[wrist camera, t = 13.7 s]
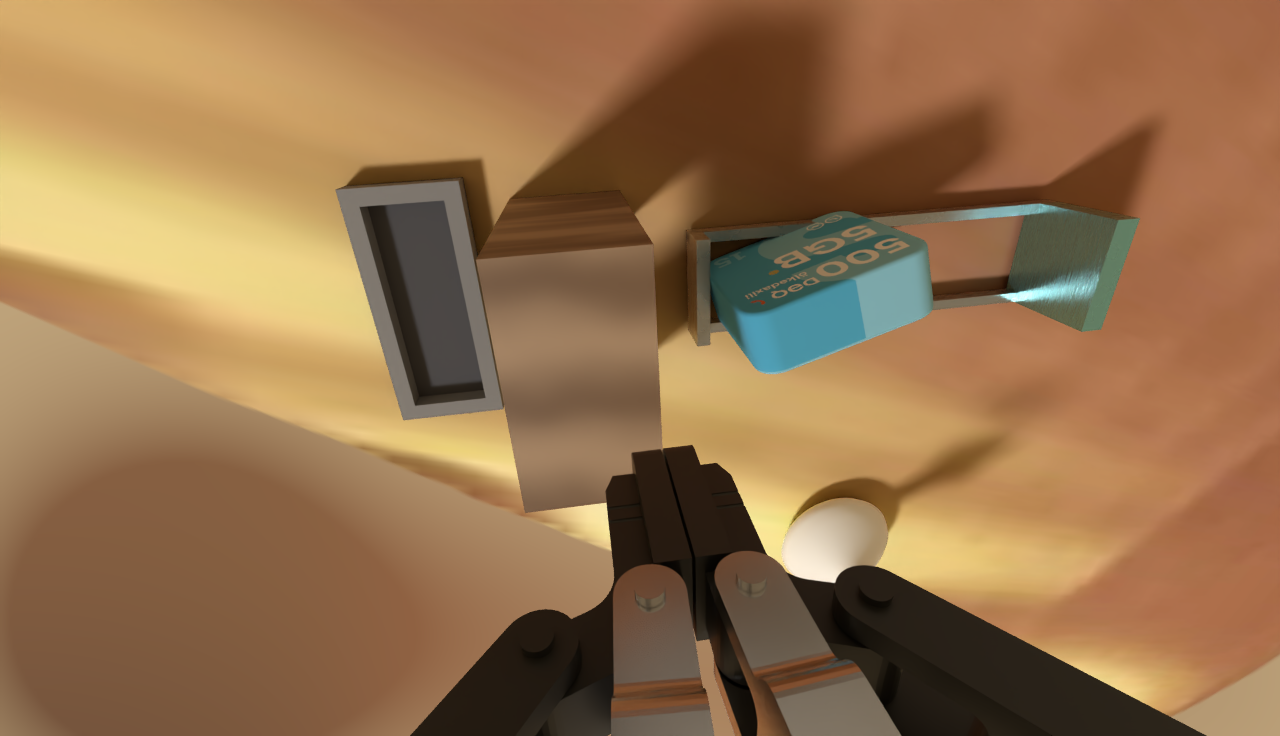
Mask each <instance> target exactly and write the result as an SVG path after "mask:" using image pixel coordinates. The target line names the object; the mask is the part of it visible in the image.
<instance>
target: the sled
mask: <svg viewBox="0 0 1280 736" xmlns="http://www.w3.org/2000/svg"><path fill="white" fill-rule="evenodd" d="M1017 215H1025V217H1024V220H1023V224H1022V228H1021V232H1020V236H1019V240H1018V244H1017V248H1016V252H1015V256H1014V259H1013V263H1012V267H1011V271H1010V275H1009V279H1008V283H1007V287H1006V289H996V290H986V291H976V292H966V293H956V294H946V295H936V296H933V304H934V305H933V309H932V310H938V309H948V308H958V307H967V306H977V305H987V304H997V303H1007V302H1016V303H1018V304H1020V305H1022V306H1025V307H1027V308H1029V309H1031V310H1034V311H1036V312H1038V313H1040V314H1043V315H1045V316H1047V317H1049V318H1052V319H1054V320H1056V321H1058V322H1061V323H1063V324H1065V325H1067V326H1070V327H1072V328H1074V329H1076V330H1079V331H1081V332H1083V331H1092V330H1101V328H1102V325H1103V322H1104V320H1105V317H1106V314H1107V311H1108V308H1109V305H1110V302H1111V300H1112V297H1113V294H1114V291H1115V288H1116V285H1117V282H1118V280H1119V277H1120V274H1121V271H1122V268H1123V265H1124V262H1125V260H1126V257H1127V254H1128V251H1129V248H1130V245H1131V242H1132V240H1133V237H1134V234H1135V231H1136V228H1137V225H1138V222H1139V220H1140V218H1136V217H1131V216H1126V215H1121V214H1117V213H1112V212H1107V211H1102V210H1097V209H1092V208H1087V207H1082V206H1077V205H1072V204H1067V203H1062V202H1057V201H1052V200H1047V199H1046V200H1034V201H1022V202H1010V203H999V204H987V205H975V206H963V207H951V208H940V209H928V210H916V211H904V212H893V213H881V214H869V215H860V216H863V217H866V218H868V219H871V220H873V221H876V222H879V223H881V224H884V225H886V226H889V227H891V226H903V225H914V224H926V223H937V222H949V221H960V220H972V219H983V218H994V217H1006V216H1017ZM811 220H813V219H810V220H798V221H786V222H775V223H763V224H751V225H739V226H727V227H716V228H704V229H692V230H686V238H687V288H688V330H689V332H690V334H691V335H692V337H693V339H694V341H695V343H696V345H697V346H706V345H710V333H713V332H723V331H727V330H726V328H725V327H724V325H723V324H722V323H721V321H720V320H719V318H718V317H715V318H710V242H719V241H731V240H742V239H754V238H765V237H777V236H783V235H786V234H788V233H791V232H793V231H796V230H798V229H801V228H803V227H806V226H808V225H811V224H813V223H816V222H813V221H811Z"/></svg>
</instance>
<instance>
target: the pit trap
mask: <svg viewBox="0 0 1280 736" xmlns="http://www.w3.org/2000/svg"><path fill="white" fill-rule="evenodd" d="M336 193H337V197H338V200H339V204H340V207H341V210H342V214H343V217H344V220H345V224H346V227H347V231H348V234H349V237H350V241H351V244H352V248H353V251H354V254H355V258H356V261H357V265H358V268H359V271H360V275H361V278H362V282H363V285H364V288H365V292H366V295H367V299H368V302H369V305H370V309H371V312H372V315H373V319H374V322H375V326H376V329H377V332H378V336H379V339H380V343H381V346H382V349H383V353H384V356H385V360H386V363H387V366H388V370H389V373H390V377H391V380H392V383H393V387H394V390H395V394H396V397H397V400H398V404H399V407H400V410H401V414H402V417H403V420H410V419H419V418H428V417H437V416H446V415H455V414H464V413H473V412H482V411H491V410H500V409H503V407H504V402H503V396H502V391H501V386H500V381H499V376H498V371H497V365H496V360H495V355H494V350H493V345H492V340H491V335H490V329H489V324H488V319H487V314H486V309H485V304H484V299H483V293H482V288H481V283H480V278H479V273H478V268H477V263H476V259H477V257H478V254H477V249H476V244H475V239H474V233H473V228H472V223H471V218H470V213H469V207H468V202H467V197H466V192H465V187H464V181H463V177H462V178H448V179H434V180H421V181H407V182H393V183H380V184H366V185H353V186H344V187H341V188H339V189H336Z"/></svg>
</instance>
